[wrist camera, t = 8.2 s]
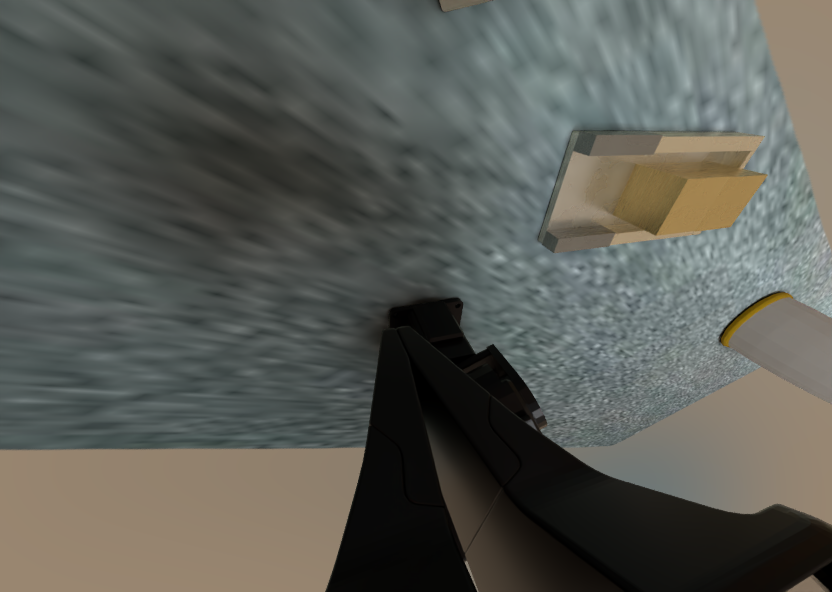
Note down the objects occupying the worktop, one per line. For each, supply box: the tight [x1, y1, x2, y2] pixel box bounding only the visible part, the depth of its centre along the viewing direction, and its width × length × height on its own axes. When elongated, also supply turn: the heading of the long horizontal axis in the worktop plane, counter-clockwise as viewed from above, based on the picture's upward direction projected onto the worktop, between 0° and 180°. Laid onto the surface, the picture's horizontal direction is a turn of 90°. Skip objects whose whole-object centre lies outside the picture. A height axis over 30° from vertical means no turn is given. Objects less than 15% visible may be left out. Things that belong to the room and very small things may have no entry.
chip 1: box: [613, 162, 730, 236], centre depth 23 cm, size 4×4×4 cm
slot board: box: [538, 131, 765, 253], centre depth 24 cm, size 16×8×2 cm, turn 87°
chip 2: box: [680, 161, 767, 232], centre depth 24 cm, size 4×4×4 cm
